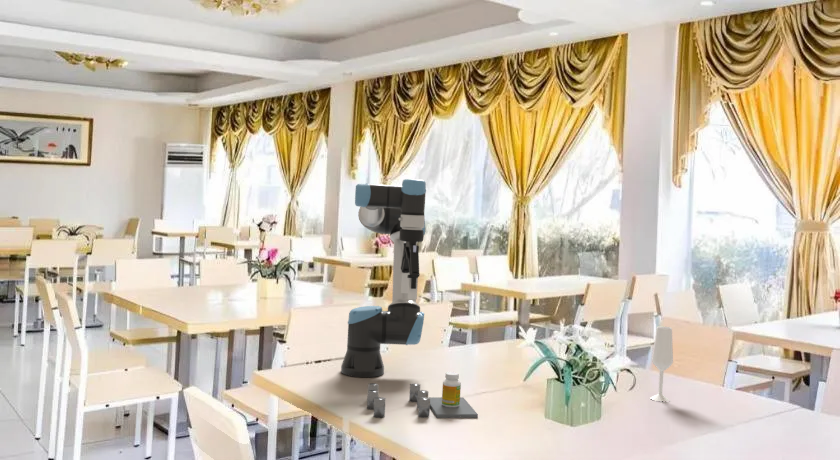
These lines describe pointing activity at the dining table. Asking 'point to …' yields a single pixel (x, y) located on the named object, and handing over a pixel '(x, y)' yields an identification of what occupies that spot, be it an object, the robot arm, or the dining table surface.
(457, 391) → the supplement bottle
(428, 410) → the spacer field
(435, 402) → the slate mat
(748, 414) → the dining table surface
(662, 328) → the champagne flute
